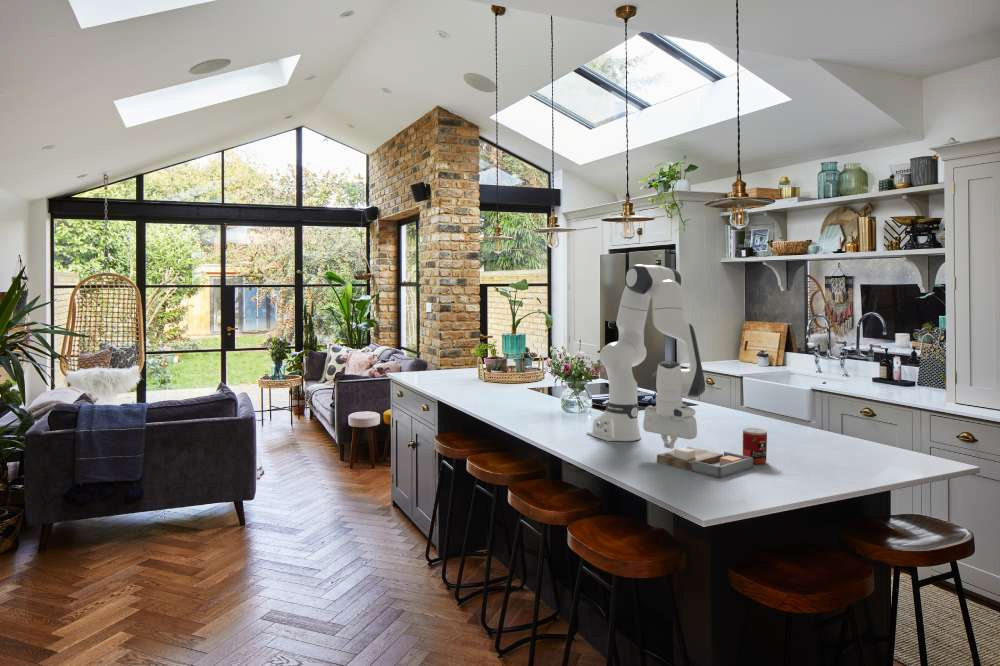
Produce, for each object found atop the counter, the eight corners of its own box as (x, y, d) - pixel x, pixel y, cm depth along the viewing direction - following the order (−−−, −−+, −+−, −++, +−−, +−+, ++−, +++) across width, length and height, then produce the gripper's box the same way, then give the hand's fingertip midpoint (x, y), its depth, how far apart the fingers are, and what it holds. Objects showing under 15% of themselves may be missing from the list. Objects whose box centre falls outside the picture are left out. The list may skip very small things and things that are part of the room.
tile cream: (673, 456, 223) (673, 449, 223) (682, 454, 226) (683, 447, 226) (686, 459, 219) (686, 452, 219) (695, 457, 223) (695, 450, 222)
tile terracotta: (719, 465, 220) (719, 457, 220) (728, 462, 223) (728, 455, 223) (732, 468, 216) (733, 460, 216) (741, 465, 219) (741, 458, 219)
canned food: (752, 465, 221) (752, 433, 221) (737, 459, 229) (738, 428, 228) (771, 464, 223) (772, 432, 223) (756, 458, 231) (757, 427, 230)
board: (656, 461, 227) (657, 454, 226) (688, 453, 238) (688, 446, 238) (691, 470, 216) (691, 463, 215) (722, 461, 227) (723, 454, 227)
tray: (691, 471, 215) (691, 460, 215) (725, 461, 227) (725, 451, 226) (719, 478, 207) (719, 467, 207) (752, 467, 219) (753, 457, 218)
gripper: (639, 405, 234) (639, 444, 235) (688, 413, 218) (688, 454, 219) (650, 403, 238) (650, 441, 239) (699, 411, 222) (699, 451, 223)
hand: (669, 447), depth 229 cm, fingers closed
